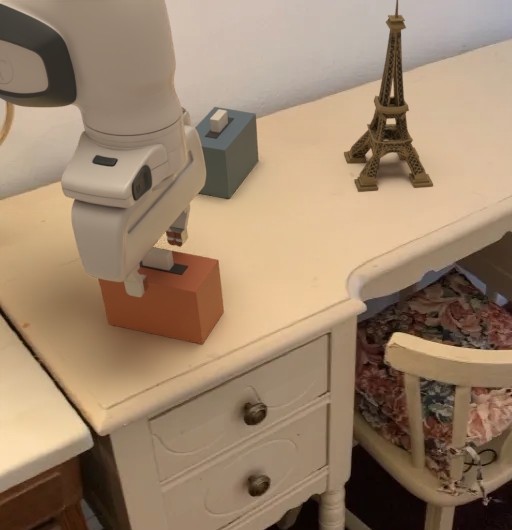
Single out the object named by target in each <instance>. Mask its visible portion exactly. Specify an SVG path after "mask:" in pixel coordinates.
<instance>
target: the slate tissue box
mask: <svg viewBox="0 0 512 530" xmlns="http://www.w3.org/2000/svg"><path fill="white" fill-rule="evenodd" d="M257 125H258V124H257V113H254V112H247V111H242V110H238V109H237V110H236V109H231V108H224V107H218V106H214V107H213V108H212V109H211V110H210V111H209V112H208V113H207V115H205V116H204V117H203V119H201V121H199V123H198V124H197V125H196V126H195V127H194V128H195V129H196V130H197V132H198V135H199V138H200V142H201V146H202V151H203V156H204V161H205V167H206V180H205V185H204V187H203V188H202V189H201V190H200V192H199V193H198V194H201V195H206V196H212V197H217V198H223V199H227V200H229V199H231V198H232V196H233V195H234V193H235V192H236V190H238V188H239V187H240V186H241V184H242V183H243V182H244V180H245V179H246V177H247V176H248V175H249V174H250V173H251V171H252V170H253V168H254V167H255V166H256V164H257V163H258V162H259V147H258V146H259V144H258V128H257Z"/></svg>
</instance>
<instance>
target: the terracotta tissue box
mask: <svg viewBox="0 0 512 530" xmlns="http://www.w3.org/2000/svg"><path fill="white" fill-rule="evenodd" d="M139 264H140V268H139V270H137V272H138V273H139V274H142V275H147V280H148V283H147V284H148V285H149V287H148V289H147V290H146V291H145V293H144V294H143V296H142V297H135V296H131V295H129V294H127V292H126V289H125V284H124V281H123V282H113V281H108V280H103V279H99V278H97V280H98V284H99V288H100V293H101V297H102V301H103V306H104V310H105V314H106V319H107V324H108V325H111V326H116V327H120V328H123V329H124V328H125V329H129V330H135V331H138V332H144V333H149V334H152V335H158V336H162V337H167V338H171V339H175V340H181V341H186V342H189V343H190V342H191V343H195V344H200V345H203V344H204V343H205V341H206V340H207V338H208V337H209V335H210V333H211V332H212V331H213V329H214V327H215V326H216V325H217V322H219V320H220V319H221V317H222V315H223V314H224V312H225V308H224V299H223V289H222V281H221V270H220V261H219V259H216V258H211V257H207V256H203V255H197V254H191V253H186V252H181V251H176V250H171V249H166V248H161V247H157V246H156V247H155V246H153V247H152V249H151V250H150V251H149V252H148V253H147V255H146V256H145V257H144V258H143V259H142V261H141V262H140V263H139Z"/></svg>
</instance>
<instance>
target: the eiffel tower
mask: <svg viewBox="0 0 512 530" xmlns="http://www.w3.org/2000/svg"><path fill="white" fill-rule="evenodd" d="M395 2H396V3H395V12H394V14H387V18H388V19H387V20H386V21H385V24H386V26H387V28H388V29H389V32H388V33H389V35H388V41H387V47H386V53H385V61H384V65H383V66H384V67H383V71H382V77H381V83H380V87H379V95H374V98H373V104H374V107H375V110H374V113H373V116H372V119H371V121H370V123H366V125H367V130H366V131H365V132H364V133H363V134H362V135H361V136H360V137H359V138H358V139H357V140H356V141H355V143H353V144H352V146H351V147H350V149H349V150H347V151H343V155H344V158H345V161H346V163H347V164H357V163H366V164H365V165H364V166H363V168H362V170H361V171H360V173H359V175H358V176H357V178H354V180H353V181H354V184H355V187H356V189H357V192H369V191H370V192H371V191H378V190H379V186H378V181H377V176H378V175H377V174H378V171H379V166H380V162H381V159H382V158H383V157H385V156H386V155H388V154H391V153H395V154H396V153H397V155H398V157H399V159H400V161H403V160H405V162H406V164H407V166H408V168H409V170H410V172H409V175H408V178H409V180H410V182H411V185H412V187H413V188H427V187H434V182H433V181H432V178H431V177H430V175H429V173H426V169H425V168H424V166H423V164H422V162H421V160H420V155H419V153H418V151H417V150H416V148H415V147H414V146H413V144H412V143H413V142H414V141H413V140H414V139H413V138H412V136H411V135H410V132H409V130H408V122H407V121H408V120H407V112H409V111H410V109H409V104H408V103H407V102H406V100H405V92H404V91H405V90H404V76H403V75H404V74H403V73H404V72H403V51H402V50H403V49H402V48H403V47H402V31H403V30H405V29H407V26H406V25H405V23H404V22H405V21H406V20H405V18H404V16H403V15H402V14H399V0H396V1H395ZM392 87H393V96H391V95H392ZM391 119H393V120H394V121H395V123H387V120H391ZM370 150H371V154H372V155H371V157H370V158H369V160H368V161H367V156H366V154H367V153H369V151H370Z"/></svg>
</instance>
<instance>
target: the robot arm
mask: <svg viewBox="0 0 512 530" xmlns="http://www.w3.org/2000/svg"><path fill="white" fill-rule="evenodd" d="M170 22H171V21H170V16H169V13H168V7H167V4H166V0H0V99H1V100H3V101H4V102H6V103H10V104H12V105H15V106H18V107H23V108H24V107H25V108H61V107H68V106H70V105H72V106H75V107H77V108H78V110H79V112H80V115H81V120H82V125H83V129H84V130H83V131H82V132H81V134H80V136H79V138H78V139H79V140H78V143H77V146H76V149H75V150H74V153H73V155H72V156H71V158H70V161H69V163H68V164H67V165H66V168H65V169H64V171H63V173H62V175H61V177H60V185H61V190H62V193H63V196H65V197H66V198H68V199H72V200H73V202H72V206H71V211H70V217H71V226H72V231H73V236H74V240H75V244H76V248H77V251H78V255H79V259H80V262H81V266H82V268H83V270H84V271H85V272H86V273H87V274H88V275H90V276H91V277H93V278H95V279H98V278H99V279H103V280H108V281H113V282H123V281H124V284H125V289H126V292H127V294H129V295H131V296H135V297H142V296H143V294H144V293H145V291H146V290H147V289H148V287H149V285H148V284H147V283H148V280H147V275H142V274H139V273H138V272H137V270H139V268H140V264H139V263H140V262H141V261H142V259H143V258H144V257H145V256H146V255H147V253H148V252H149V251H150V250H151V249H152V247H155V245H156V244H157V243H158V242H159V241H160V240H161V238H162V237H163V236H164V235H166V241H167V243H168V244H169V245H170V246H174V247H175V246H176V247H179V248H180V247H183V246H184V244H185V243H186V242H187V240H188V239H189V233H188V232H189V231H188V223H189V218H190V213H191V203H192V201H193V200H194V199H195V198H196V197H197V195H198V194H200V193H199V192H200V190H201V189H202V188H203V187H204V185H205V180H206V167H205V161H204V156H203V151H202V146H201V142H200V138H199V135H198V132H197V130H196V129H195V127H194V126H192V122H191V116H190V111H188V110H187V109H186V108H185V107H184V106H182V104H181V100H180V98H179V96H178V94H177V91H176V87H175V75H176V74H175V73H176V70H177V69H176V67H177V62H176V53H175V45H174V40H173V33H172V28H171V23H170Z"/></svg>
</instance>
